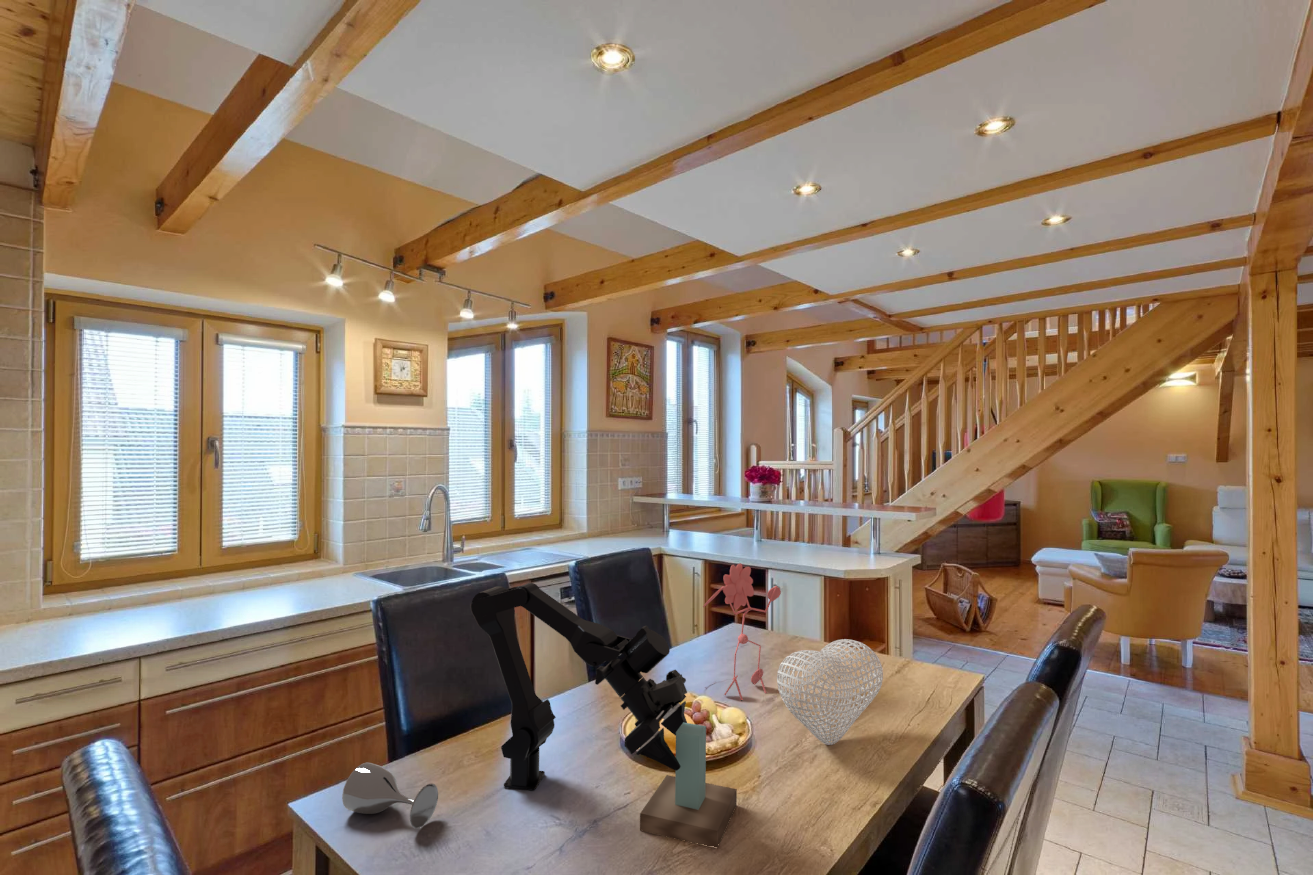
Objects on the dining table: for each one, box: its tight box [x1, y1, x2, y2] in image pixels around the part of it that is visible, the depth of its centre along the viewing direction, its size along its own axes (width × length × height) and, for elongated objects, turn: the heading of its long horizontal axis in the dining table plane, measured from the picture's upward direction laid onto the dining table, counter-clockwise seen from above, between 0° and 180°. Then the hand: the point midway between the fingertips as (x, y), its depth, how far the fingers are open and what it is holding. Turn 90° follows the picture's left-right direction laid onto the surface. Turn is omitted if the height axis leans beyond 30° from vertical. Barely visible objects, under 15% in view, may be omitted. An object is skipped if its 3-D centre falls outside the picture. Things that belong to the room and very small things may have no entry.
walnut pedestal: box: [639, 774, 738, 848], centre depth 117 cm, size 14×14×3 cm
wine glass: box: [341, 762, 439, 830], centre depth 116 cm, size 8×8×15 cm
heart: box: [776, 638, 884, 746], centre depth 146 cm, size 28×16×22 cm, turn 127°
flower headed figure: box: [702, 562, 782, 701], centre depth 178 cm, size 15×26×35 cm, turn 128°
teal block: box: [674, 722, 707, 810], centre depth 117 cm, size 4×4×13 cm
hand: (686, 757), depth 117 cm, fingers open, 9 cm apart
